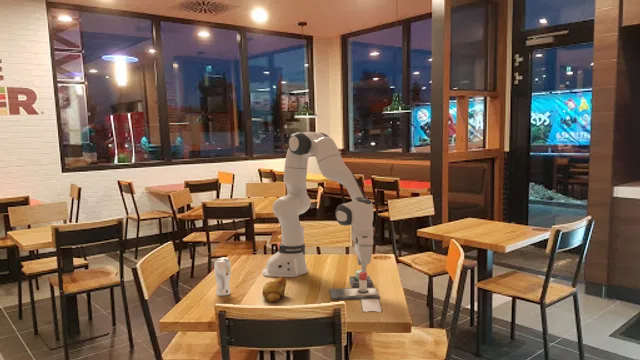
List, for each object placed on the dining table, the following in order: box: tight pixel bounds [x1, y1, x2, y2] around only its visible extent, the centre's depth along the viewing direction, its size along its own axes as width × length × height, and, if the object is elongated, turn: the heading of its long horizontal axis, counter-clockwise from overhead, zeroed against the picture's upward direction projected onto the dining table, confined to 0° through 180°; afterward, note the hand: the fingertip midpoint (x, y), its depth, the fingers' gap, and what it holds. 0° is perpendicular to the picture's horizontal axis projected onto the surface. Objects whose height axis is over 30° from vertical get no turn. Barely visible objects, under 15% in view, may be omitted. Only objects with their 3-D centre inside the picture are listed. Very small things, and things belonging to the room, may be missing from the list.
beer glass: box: [214, 257, 232, 297], centre depth 196 cm, size 7×7×15 cm
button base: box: [349, 275, 374, 288], centre depth 205 cm, size 9×9×3 cm
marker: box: [359, 272, 368, 293], centre depth 194 cm, size 3×3×8 cm
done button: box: [354, 269, 368, 282], centre depth 205 cm, size 5×5×4 cm
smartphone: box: [360, 298, 383, 313], centre depth 183 cm, size 8×1×16 cm
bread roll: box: [262, 277, 287, 303], centre depth 191 cm, size 13×10×8 cm
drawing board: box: [328, 286, 381, 301], centre depth 194 cm, size 20×11×1 cm, turn 95°
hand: (361, 268), depth 193 cm, fingers open, 8 cm apart
